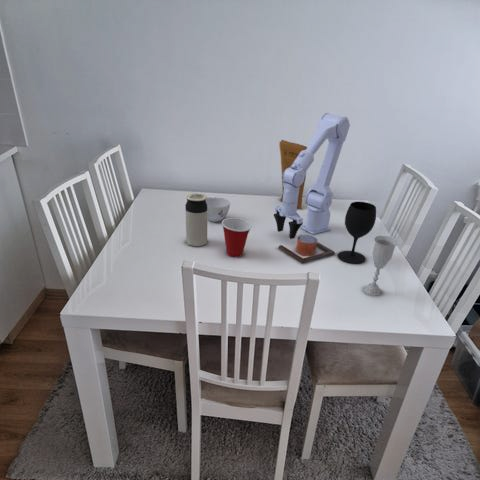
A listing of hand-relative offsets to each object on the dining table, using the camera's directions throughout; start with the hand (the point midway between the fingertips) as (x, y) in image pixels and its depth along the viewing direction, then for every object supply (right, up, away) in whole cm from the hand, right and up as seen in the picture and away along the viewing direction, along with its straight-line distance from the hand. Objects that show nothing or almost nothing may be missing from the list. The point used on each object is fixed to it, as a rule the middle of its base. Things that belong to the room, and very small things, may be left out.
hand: (286, 234), depth 166 cm
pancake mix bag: (+5, +22, +35) cm, 42 cm away
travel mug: (-35, -4, -6) cm, 36 cm away
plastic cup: (-20, -10, -12) cm, 25 cm away
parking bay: (+6, -7, -7) cm, 12 cm away
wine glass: (+23, -11, -10) cm, 28 cm away
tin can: (+7, -8, -7) cm, 13 cm away
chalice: (+25, -25, -29) cm, 46 cm away
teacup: (-30, +10, +15) cm, 35 cm away
